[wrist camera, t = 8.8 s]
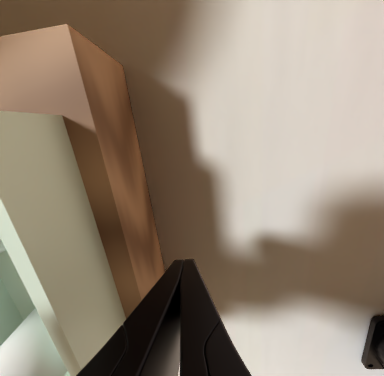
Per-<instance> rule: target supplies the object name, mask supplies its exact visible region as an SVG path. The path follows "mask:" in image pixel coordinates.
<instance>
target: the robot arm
mask: <svg viewBox="0 0 384 376" xmlns="http://www.w3.org/2000/svg"><path fill="white" fill-rule="evenodd" d="M362 363H363V365H364V366H365V368H367V369H384V316H376V317H374V318H373V319H372V320H371V324H370V328H369V332H368V337H367V341H366V345H365V349H364V353H363V357H362ZM179 364H180V376H251V374H250V372H249V371H248V369H247V367H246V366H245V364H244V362H243V361H242V359H241V357H240V355H239V354H238V352H237V350H236V348H235V347H234V345H233V343H232V341H231V339H230V337H229V335H228V333H227V331H226V329H225V326H224V324H223V322H222V321H221V318H220V316H219V314H218V311H217V309H216V307H215V305H214V303H213V300H212V298H211V296H210V294H209V292H208V290H207V287H206V285H205V283H204V281H203V279H202V276H201V274H200V272H199V270H198V268H197V266H196V263H195V261H194V259H185V260H175V261H174V262H173V263H172V264H171V266H170V267H169V268H168V269H167V270H166V272H165V273H164V274H163V275H162V276H161V278H160V279H159V280H158V281H157V282H156V284H155V285H154V286H153V287H152V289H151V290H150V291H149V292H148V293H147V295H146V296H145V297H144V298H143V299H142V301H141V302H140V303H139V304H138V305H137V307H136V308H135V309H134V310H133V312H132V313H131V314H130V315H129V316H128V318H127V319H126V320H125V321H124V322H123V325H121V326H120V327H119V328H118V330H117V331H116V332H115V333H114V334H113V336H112V337H111V338H110V339H109V340H108V341H107V343H106V344H105V345H104V346H103V347H102V348H101V349H100V351H99V352H98V353H97V354H96V355H95V356H94V357H93V358H92V359H91V360H90V361H89V362H88V363H87V364H86V366H85V367H84V368H83V369H82V370H81V371H80V372H79V373H78V374H77V375H76V376H178V371H179Z"/></svg>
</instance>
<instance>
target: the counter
mask: <svg viewBox="0 0 384 376" xmlns="http://www.w3.org/2000/svg"><path fill="white" fill-rule="evenodd" d="M0 111H10V112H23V113H37V114H50V115H62V117H63V120H64V123H65V126H66V130H67V133H68V136H69V139H70V142H71V146H72V149H73V152H74V155H75V158H76V161H77V165H78V168H79V171H80V174H81V177H82V180H83V184H84V187H85V190H86V193H87V196H88V200H89V203H90V206H91V209H92V212H93V215H94V219H95V222H96V225H97V228H98V231H99V234H100V238H101V241H102V244H103V247H104V250H105V254H106V257H107V260H108V263H109V266H110V269H111V273H112V276H113V279H114V282H115V285H116V289H117V292H118V295H119V298H120V301H121V304H122V308H123V311H124V314H125V317H126V319H127V318H128V316H129V315H130V314H131V313H132V312H133V310H134V309H135V308H136V307H137V305H138V304H139V303H140V302H141V301H142V299H143V298H144V297H145V296H146V295H147V293H148V292H149V291H150V290H151V289H152V287H153V286H154V285H155V284H156V282H157V281H158V280H159V279H160V278H161V276H162V275H163V274H164V273H165V270H164V265H163V260H162V255H161V250H160V245H159V240H158V236H157V231H156V226H155V221H154V216H153V211H152V206H151V201H150V196H149V192H148V187H147V182H146V177H145V172H144V167H143V162H142V157H141V153H140V148H139V143H138V138H137V133H136V128H135V123H134V118H133V113H132V109H131V104H130V99H129V94H128V89H127V84H126V79H125V74H124V70H123V66H122V65H121V64H120V63H118V62H117V61H116V60H114V59H113V58H112V57H110V56H109V55H108V54H106V53H105V52H104V51H103V50H101V49H100V48H99V47H97V46H96V45H95V44H93V43H92V42H91V41H89V40H88V39H87V38H85V37H84V36H83V35H81V34H80V33H79V32H77V31H76V30H75V29H73V28H72V27H71V26H69V25H68V24H63V25H58V26H52V27H47V28H41V29H36V30H31V31H25V32H20V33H15V34H9V35H4V36H0Z"/></svg>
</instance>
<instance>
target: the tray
mask: <svg viewBox="0 0 384 376" xmlns="http://www.w3.org/2000/svg"><path fill="white" fill-rule="evenodd" d="M125 320H126V317H125V314H124V311H123V308H122V304H121V301H120V298H119V295H118V292H117V289H116V285H115V282H114V279H113V276H112V273H111V269H110V266H109V263H108V260H107V257H106V254H105V250H104V247H103V244H102V241H101V238H100V234H99V231H98V228H97V225H96V222H95V219H94V215H93V212H92V209H91V206H90V203H89V200H88V196H87V193H86V190H85V187H84V184H83V180H82V177H81V174H80V171H79V168H78V165H77V161H76V158H75V155H74V152H73V149H72V146H71V142H70V139H69V136H68V133H67V130H66V126H65V123H64V120H63V117H62V115H50V114H37V113H23V112H10V111H0V376H76V375H77V374H78V373H79V372H80V371H81V370H82V369H83V368H84V367H85V366H86V364H87V363H88V362H89V361H90V360H91V359H92V358H93V357H94V356H95V355H96V354H97V353H98V352H99V351H100V349H101V348H102V347H103V346H104V345H105V344H106V343H107V341H108V340H109V339H110V338H111V337H112V336H113V334H114V333H115V332H116V331H117V330H118V328H119V327H120V326H121V325H123V322H124V321H125Z"/></svg>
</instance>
